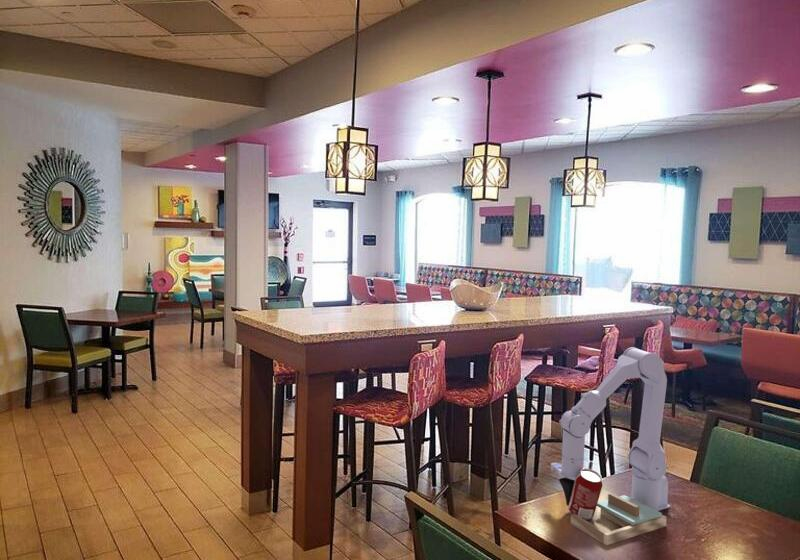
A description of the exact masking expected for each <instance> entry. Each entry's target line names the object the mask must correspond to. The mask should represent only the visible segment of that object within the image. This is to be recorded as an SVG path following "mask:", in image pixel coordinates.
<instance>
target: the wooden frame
mask: <svg viewBox="0 0 800 560" xmlns="http://www.w3.org/2000/svg"><path fill="white" fill-rule="evenodd" d="M600 515H601V516H602V517H604V518H605V519H607V520H610V521H611V522H614V523H615V524H617V525H619V526H620V527H621V528H617V529H613V530H611V531H608V532H606V531H605V530H604V529H601V528H600V527H598V526H596V525H595V524H593V523H592V522H590V521H588V520H584V519H582V518H581V517H579V516H577V515H575V514H571V513H570V524H571V525H572V526H574V527H576V528H577V529H578V530H581V532H584V533H585V534H587V535H589V536H590V537H592V538H594V539H595V540H598V541H599V542H600V543H602V544H604V545H605V546H608V545H612V544H615V543H618V542H621V541H624V540H627V539H630V538H631V539H632V538H634V537H636V536H637V537H638V536H639V535H643V534H646V533H650V532H652V531H656V530H658V529H662V528H666V527H667V516H666V515H663V514H662V516H661V517H658V518H654V519H651V520H648V521H645V522H641V523H638V524H635V525H632V524H630V523H628V522H626V521H624V520H622V519H621V518H619V517H617V516H615V515H613V514H611V513H609V512H607V511H605V510H604V509H602V508H600Z"/></svg>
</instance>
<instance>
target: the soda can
mask: <svg viewBox="0 0 800 560" xmlns="http://www.w3.org/2000/svg"><path fill="white" fill-rule="evenodd" d="M602 479H603V478H602V475H600V473H599V472H597V471H596V470H593V469H591V468H583V469H582V470H581V471H580V473H578V474H577V476H576V479H575V482H574V486H573V490H572V493H571V497H570V501H569V504H568V506H567V509H568V511H569V513H570V515H571V514H575V515H577V516H579V517H581V518H582V519H584V520H586V521H588V520H592V519H594V516H595V512H596V509H597V507H598V506H597V503H598V502H599V499H600V496H601V492H602V489H603V482H602Z"/></svg>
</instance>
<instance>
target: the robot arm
mask: <svg viewBox="0 0 800 560" xmlns="http://www.w3.org/2000/svg"><path fill="white" fill-rule="evenodd" d="M664 366H665V361H664V360H663V359H662V358H661V357H660V356H659V355H658V354H656V353H653V352H649V351H645V350H642V349H639V348H637V347H634V346H633V347H628V348H627V349H626V350H624V352H623V353H622V354H621V355H620V356H618V359H617V362H616V364H615V365H614V367H613V368H612V369H611V370H610V372H609V373H608V374H607V375H606V377H604V379H603V380H602V382H601V383H600V385H598V386H597V388H596V389H595V390H593V389H592V390H588V391H587V392H584V393H583V394H582V398H580V400H579V401H578V402H577V403H576V405H574V406H572V407H571V410H567V411H565V412H563V414H562V416H561V419H559V420H558V422H559V426H560V427H561V429H562V446H561V447H562V448H561V463H559V462H552V463H550V471H552V472H557V474H558V476H559V477H560V478H559V481H558V482H559V484H560V485H561V487H562V490H563V494H564V497H565V502H566V506H567V507H568V504H569V501H570V497H571V493H572V490H573V486H574V482H575V479H576V476H577V474H578V473H580V471H581V470H582V469H584V466H585V464H584V461H585V444H586V440H585V439H586V435H587V434H588V433H589V432H590V430H591V425H592V423H593V421H594V420H595V418H596V417H598V415H599V414H600V413H601V412H602V411H603V410H604V409H605V408H606V406H607V399H608V398H609V396H610V395H612V394H613V393H614V392H615V391H616V390H617V389H618V388H619V387H621V385H622V384H623V383H624V382H625V381H626V380H630V379H639V378H640V379H641V380H642V381H643V383H644V388H643V396H642V404H641V412H640V413H641V414H640V420H639V428H638V429H639V430H638V437H637V438H636V439H634V440H633V441H632V444H631V445H632V446H631V447H630V450H629V452H628V454H627V460H628V461H627V462H628V463H629V464H630V466H631V471H632V478H631V479H632V480H631V497H630V498H632V499H634V500H636V501H638V502H640V503H642V504H644V505H646V506H648V507H650V508H652V509H654V510H656V511H659V512H660V511H662V510H666V509H669V508H670V507H671V506H670V504H668V498H669V497H668V495H669V483H668V479H667V477H666V476H665V474H666V473H667V470H668V464H667V462H666V452H665V450H664V448H663V446H662V444H661V434H662V426H663V420H664V419H663V418H664V410H665V409H664V408H665V402H666V392H667V385H668V384H667V383H668V378H667V374H666V372H665V369H664V368H665V367H664Z"/></svg>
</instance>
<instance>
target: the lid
mask: <svg viewBox="0 0 800 560" xmlns="http://www.w3.org/2000/svg"><path fill="white" fill-rule="evenodd" d="M596 507H598V508H600V509H601V508H602V509H604V510H605V511H607V512H609V513H611V514H613V515H615V516H617V517H619V518H621V519H622V520H624V521H626V522H628V523H630V524H632V525H635V524H638V523H641V522H645V521H648V520H651V519H654V518H658V517H661V516H662V515H663V513H662V512H660V510H659V511H656V510H654V509H652V508H650V507H648V506H646V505H644V504H642V503H640V502H638V501H636V500H634V499H632V498H631V497H630V496H627V495H625V494H624V495H620V496H619V495H618V494H615V493H612V492H610V493H608V496H607V499H604V500H601V501H598V503H597V506H596Z"/></svg>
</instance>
